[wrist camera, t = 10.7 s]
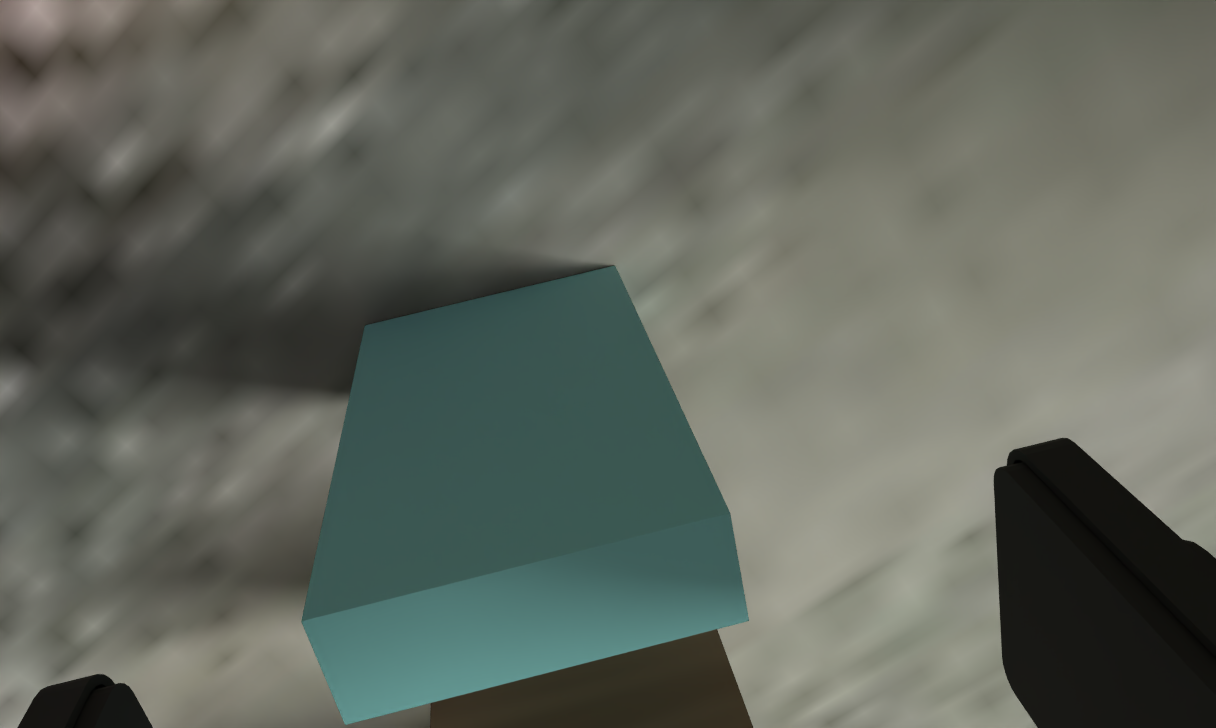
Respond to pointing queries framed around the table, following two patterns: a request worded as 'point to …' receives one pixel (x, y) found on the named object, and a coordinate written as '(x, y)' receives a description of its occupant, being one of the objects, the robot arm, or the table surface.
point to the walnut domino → (613, 693)
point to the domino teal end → (512, 502)
